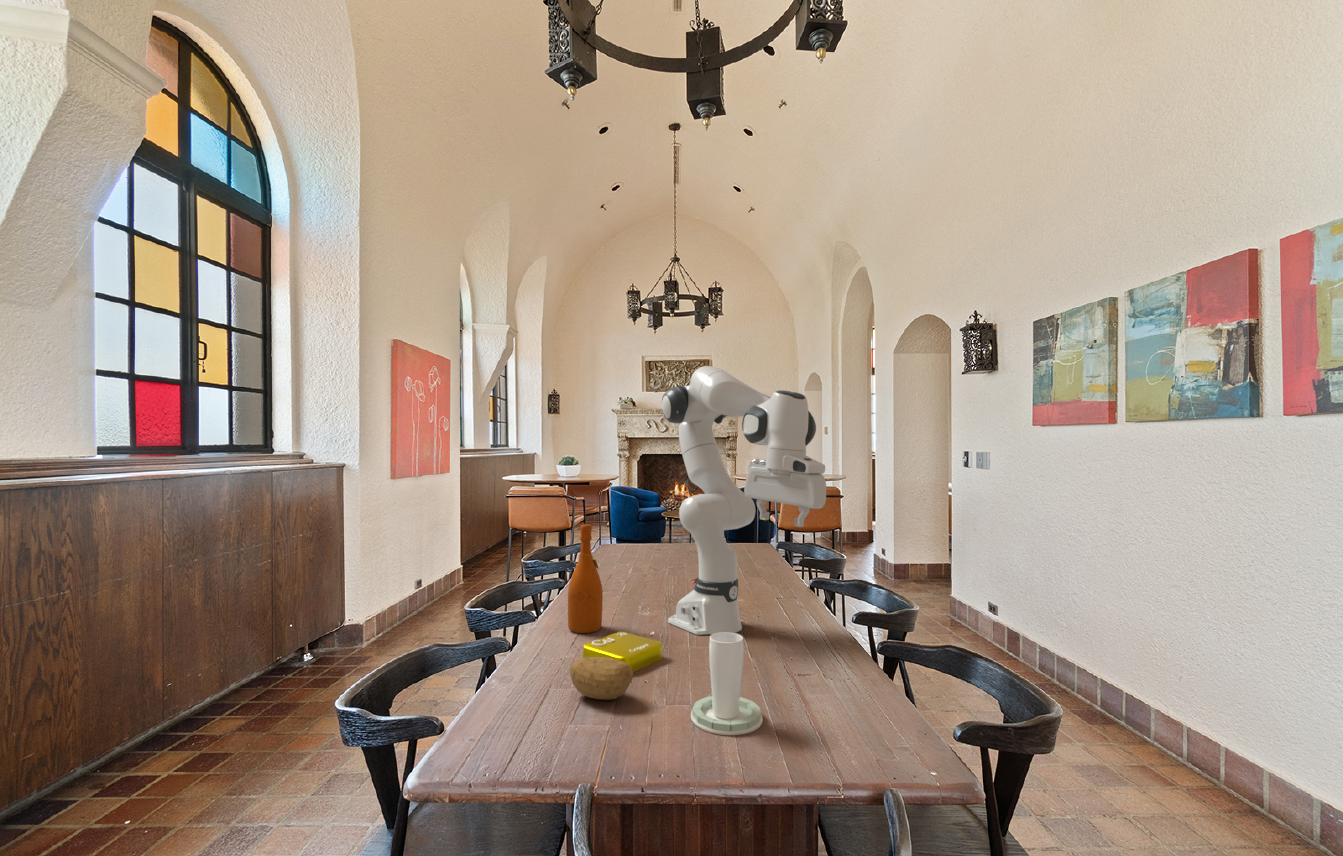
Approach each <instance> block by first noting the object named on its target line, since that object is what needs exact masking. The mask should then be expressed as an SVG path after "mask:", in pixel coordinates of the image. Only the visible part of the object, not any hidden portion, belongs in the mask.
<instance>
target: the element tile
mask: <svg viewBox="0 0 1343 856" xmlns="http://www.w3.org/2000/svg"><path fill="white" fill-rule="evenodd" d="M662 645H663V644H662V642H661V641H659V640H655V639H653V638H648V637H644V636H641V635H637V634H633V633H630V632H625V631H617V632H615V633H611V634H609V635H606V636H603V637H601V638H597V639H595V640H592V641H590V642H586V643H584V644H583V645H582V658H586V657H596V658H597V657H607V658H611V659H613V660H618V661H622V662H624V663H626V664H628V665H629V666H630V667H631V668H632V672H633V673H634V672H637V671H639V670H641V669H643V668H646V667H648V666H651V665H653V664H655V663H657V662H659V661H661V660H662V657H663V655H662V653H663V646H662Z"/></svg>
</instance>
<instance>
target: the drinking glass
mask: <svg viewBox="0 0 1343 856" xmlns="http://www.w3.org/2000/svg"><path fill="white" fill-rule="evenodd" d="M708 641H709V643H708V659H709V660H708V661H709V676H710V686H711V687H710V689H711V696H712V712H713V714H714V715H715V716H716V717H718V718H722V719H732V718H735V717H737V716H738V715H739V712H740V697H741V691H742V680H743V679H742V677H743V669H744V658H745V657H744V656H745V655H744V654H745V651H744V647H745V646H744V637H743V636H742V635H741V634H740V633H737V632H736V633H730V632H719V633H714V634H710V635H709V640H708Z"/></svg>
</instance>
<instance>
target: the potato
mask: <svg viewBox="0 0 1343 856" xmlns="http://www.w3.org/2000/svg"><path fill="white" fill-rule="evenodd" d="M569 674H570V678H571V682H572V684H573V686H574V687H575V689H576V690H577V692H578V693H580V694H581V695H583V696H585V697H587V698H592V699H595V700H601V701H609V700H614V699H618V698H619V697H621V696H622V695H623V694H625V692H627V689H629V687H630V684H631V682H632V680H633V677H634V676H633V675H634V672H632V668H631V667H630V666H629V665H628V664H626V663H624V662H622V661H618V660H613V659H611V658H607V657H597V658H596V657H586V658H583V657H582V658H580V659H577V660H576V661H575V662H573V664H572V665H571V667H570V669H569Z"/></svg>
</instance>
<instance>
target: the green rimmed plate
mask: <svg viewBox="0 0 1343 856" xmlns="http://www.w3.org/2000/svg"><path fill="white" fill-rule="evenodd" d="M763 718H764V715H763V714H762V709H761V707H760V706H758V704H757V703H755V702H754V701H753V700H751V699H747V698H745V697H742V696H740V712H739V715H738V716H737V717H735V718H732V719H722V718H718V717H716V716H715V715H714V714H713V712H712V695H710V696H705V697H702V698H701V699H699V700H696V701H695V702H694V703H693V706H692V709H691V710H690V720H691V722H692V724H693V725H694V726H695V727H696V728H698V729H700V730H702V731H703V732H706V733H710V734H713V735H719V736H728V737H729V736H731V737H732V736H742V735H747V734H750V733H753V732H756V731H757V730H758V729H760V728H761V726H762V725H763Z"/></svg>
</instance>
